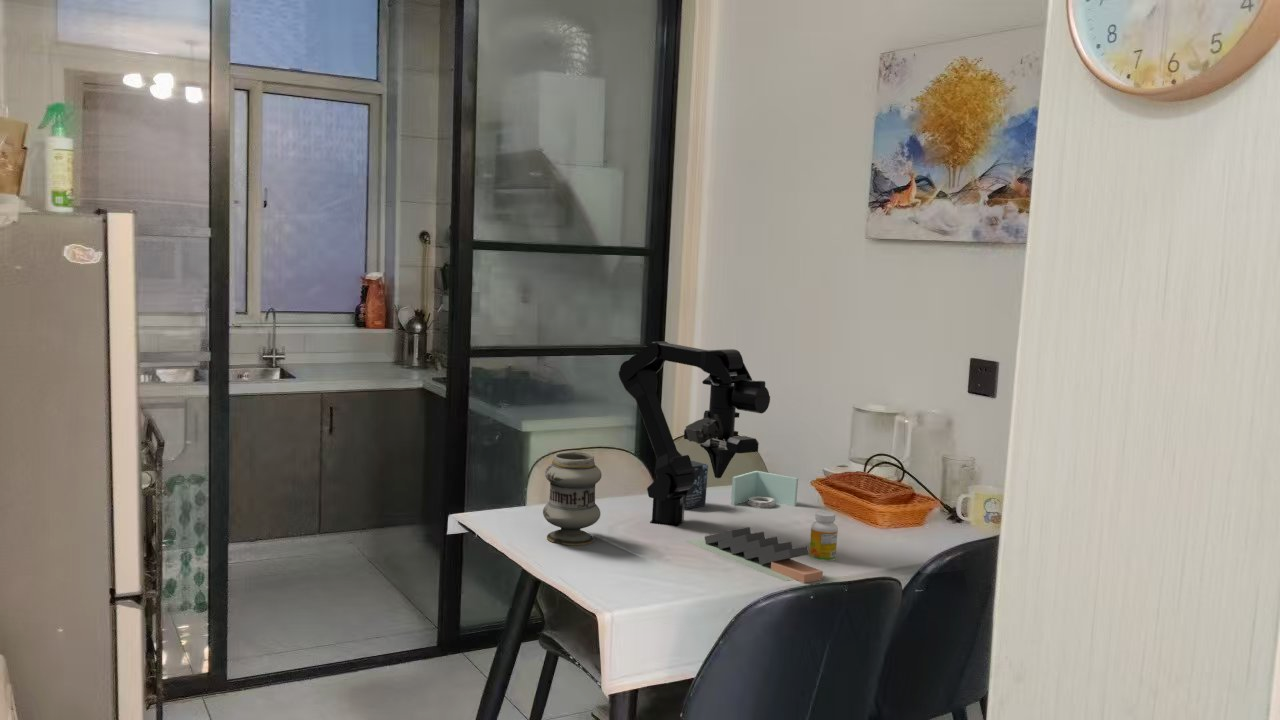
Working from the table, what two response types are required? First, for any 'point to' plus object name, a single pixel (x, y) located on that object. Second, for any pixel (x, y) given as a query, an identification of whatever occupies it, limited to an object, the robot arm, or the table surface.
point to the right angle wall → (764, 489)
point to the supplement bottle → (823, 537)
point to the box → (697, 487)
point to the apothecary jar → (572, 497)
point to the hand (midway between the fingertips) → (717, 477)
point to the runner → (739, 558)
